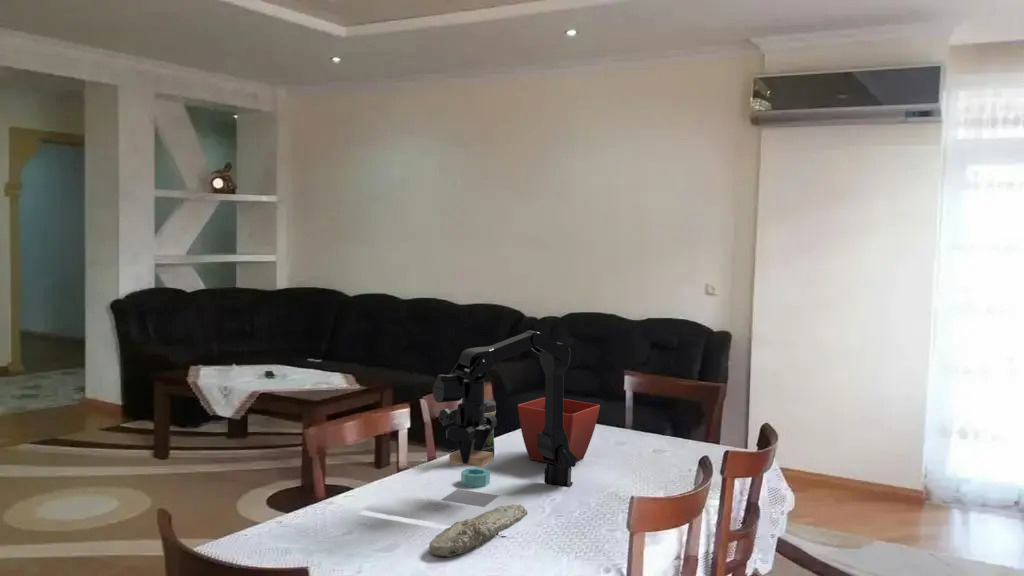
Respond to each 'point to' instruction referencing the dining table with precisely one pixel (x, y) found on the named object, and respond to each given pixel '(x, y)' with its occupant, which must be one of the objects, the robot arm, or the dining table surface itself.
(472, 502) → the mat
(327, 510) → the dining table surface
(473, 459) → the lid
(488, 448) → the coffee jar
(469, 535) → the long grey stone
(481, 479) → the bowl
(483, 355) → the robot arm
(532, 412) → the plant pot
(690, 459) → the dining table surface
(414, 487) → the dining table surface
